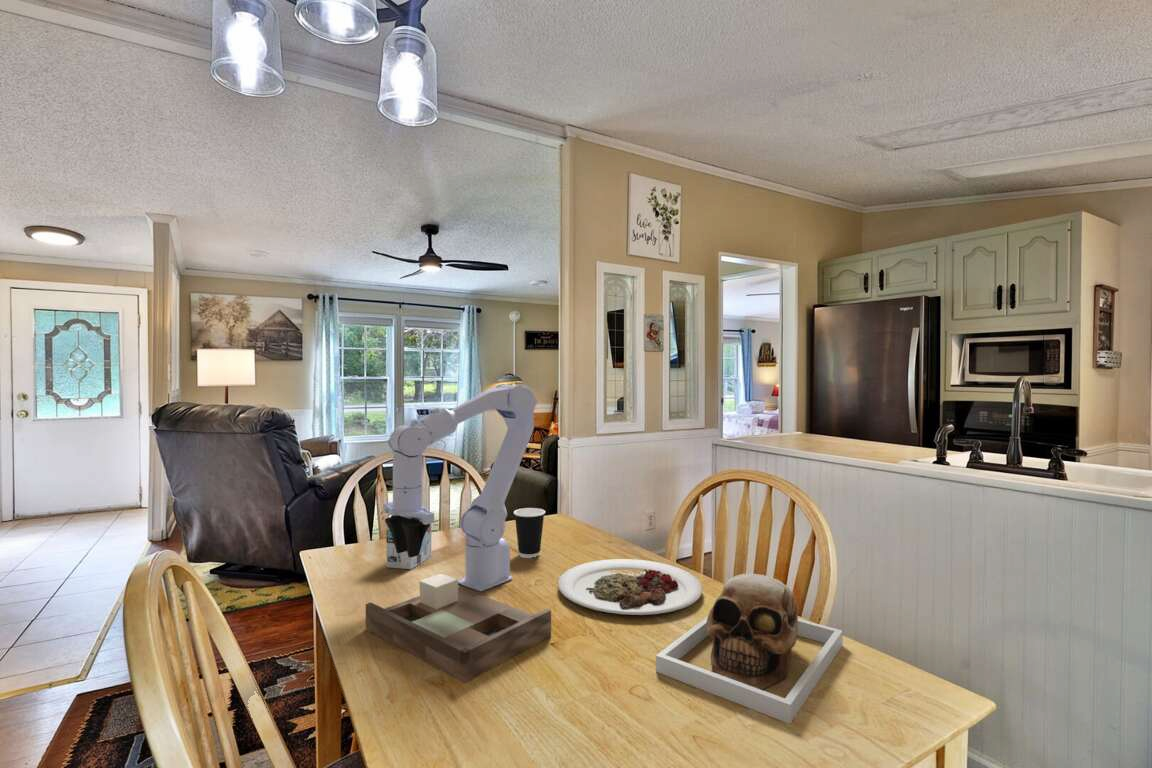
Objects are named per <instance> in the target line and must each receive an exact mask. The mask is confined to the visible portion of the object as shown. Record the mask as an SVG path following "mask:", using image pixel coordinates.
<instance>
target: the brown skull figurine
mask: <svg viewBox="0 0 1152 768" xmlns="http://www.w3.org/2000/svg"><path fill="white" fill-rule="evenodd" d="M708 613H709V614H708V615H707V616H708V618H707V631H708V634H709V635H708V636H710V637H713V641H712V648H711V654H710V665H711V672H714V673H716V674H719V675H722V676H725V677H727V678H730V679H733V680H735V681H738V682H741V683H744V684H746V685H749V686H752V687H755V688H757V689H760V690H765V689H767V688H769V687H771V686H772V685H774V684H776V683H779V682H781V680H782V679H785V678H787V676H788V674H789V672H790V667H791V661H792V658H791V657H792V649H793V648H794V647H795V645H796V643H797V640H798V639H797V638H798V635H797V632H798V619H799V618H798V617H799V615H798V605H797V601H796V597H795V596H794V593H793V592H792V590H791V589H790V588H789V587H788V585H786V584H785V583H784V582H782V581H781V580H779V579H776V578H775V577H774V578H773V577H770V576H767V575H764V574H759V573H751V572H750V573H741V574H740V573H739V574H737V575H735V576H732V577H730V578H729V579H727V580H726V582H725V583H724V585H723V588H722V591H721V593H720V594H719V596H718V597H717V598H716V599H715V601H714V603H713V606H712V607H711V609H710V611H709V612H708Z"/></svg>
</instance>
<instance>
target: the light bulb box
mask: <svg viewBox="0 0 1152 768" xmlns="http://www.w3.org/2000/svg"><path fill="white" fill-rule="evenodd" d="M431 557H432V523H431V524H430V526H429V527H428V529H427V531H426V533H425V536H424V539H423V542H422V545H421V549H420V553H419V555H418V556H415V557H411V558H410V557H408V553H407V551H405V552H402V553H397V552H396V548H395V544H394V540H393V537H392V534H391V531H390V529H389V527H388V526H387V524H386V568H391V569H403V570H412V569H414V568H415V567H417V566H418V565H420V564H422V563H423V562H424V561H426V560H427V559H429V558H431Z"/></svg>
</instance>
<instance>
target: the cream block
mask: <svg viewBox="0 0 1152 768" xmlns="http://www.w3.org/2000/svg"><path fill="white" fill-rule="evenodd" d="M458 580H459V579H458V578H454V577H452V576H449V575H447V574H444V573H439V574H437V575H433V576H430V577H427V578H424V579H421V580H419V596H420V602H421V603H423V604H425V605H427V606H430V607H432V608H434V609H438V608H441V607H443V606H446V605H448V604H451V603H453V602H456V601H458V587H459V583H458Z"/></svg>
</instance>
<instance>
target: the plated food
mask: <svg viewBox="0 0 1152 768" xmlns="http://www.w3.org/2000/svg"><path fill="white" fill-rule="evenodd" d="M622 569H623V570H639V571H645V572H646V573H645V572H643V574H642V573H641V572H640V573H641V574H639V575H638V573H637V574H636V575H637V576H635V577H634V575H633V574H634V573H632V574H630V573H628V575H627V574H626V573H621V572H620V573H615V572H613V573H611V570H622ZM609 571H610V572H609ZM557 585H558V588H559V592H560V593H561V594H562V595H563V596H564V597H565V598H567V599H568V600H570V601H571V602H573V603H575V604H577V605H579V606H582V607H585V608H588V609H591V610H594V611H597V612H605V613H607V614H608V613H611V614H619V615H632V616H634V615H637V616H638V615H639V616H643V615H644V616H645V615H647V616H648V615H659V614H665V613H670V612H675V611H678V610H681V609H684V608H687V607H689V606H692V605H693V604H695V602H697V601H699V599H700V597H701V596H702V594H703V586H702V584H701V582H700V580H699V579H698V578H696V576H694V575H693V574H691V573H690V572H688V571H686V570H683V569H682V568H679V567H676V566H673V565H669V564H666V563H662V562H658V561H652V560H645V559H635V558H633V559H632V558H631V559H630V558H628V559H627V558H616V559H615V558H613V559H602V560H595V561H589V562H584V563H581V564H578V565H576V566H574V567H571V568H569V569H567V570H565V572H563V573H562V575H561V576H560V577H559V579H558V582H557Z"/></svg>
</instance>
